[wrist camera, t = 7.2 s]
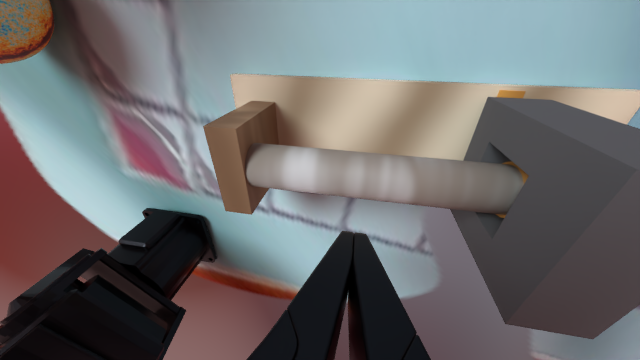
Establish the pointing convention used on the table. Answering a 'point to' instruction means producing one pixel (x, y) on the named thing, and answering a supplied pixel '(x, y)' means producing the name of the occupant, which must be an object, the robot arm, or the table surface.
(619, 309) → the grey sliding block
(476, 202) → the pipe stand
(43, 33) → the ball
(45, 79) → the table surface
